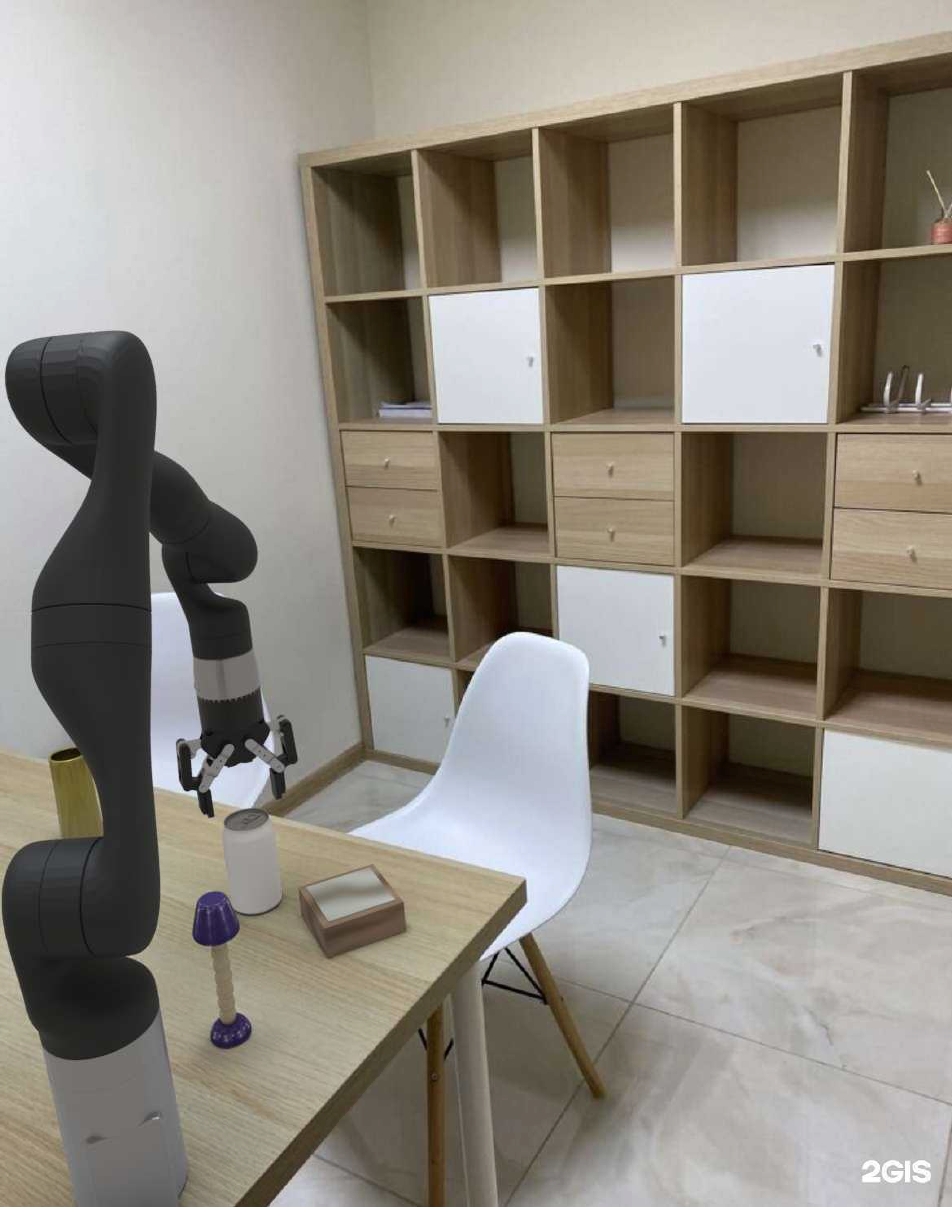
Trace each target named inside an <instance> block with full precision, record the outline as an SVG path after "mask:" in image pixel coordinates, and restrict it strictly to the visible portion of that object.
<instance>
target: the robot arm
mask: <svg viewBox="0 0 952 1207" xmlns="http://www.w3.org/2000/svg"><path fill="white" fill-rule="evenodd" d="M7 357H8V358H7V360H6V364H5V370H4V387H5V392H6V397H7V400H8V403H9V406H10V408H11V410H12V412H13V415H14V416H15V418H16V420H17V421H18V423H19V425H21V427H22V429H24V431H25V432H26V433H27V434H28V435H29V436H31V437H32V439H34V440H35V441H36V442H37V443H38V444H40V445H41V446H42V447H44V448H45V449H46V450H47V451H49V452H51V453H52V454H53V455H55V456H57V458H59V459H61V460H62V461H63V462H65V463H67V464H68V465H69V466H71V467H72V468H74V469H75V470H76V471H77V472H79V473H80V474H82V475H83V476H85V477H86V478H88V479H89V480H90V484H89V487H88V488H87V492H86V495H85V497H84V499H83V501H82V502H81V505H80V507H79V508H78V510H77V512H76V514H75V515H74V517H73V519H72V520H71V522H70V524H69V525H68V527H67V528H66V529H65V531H64V533H63V535H62V536H61V537H60V539H59V540H58V542H57V544H56V545H55V546H54V548H53V550H52V551H51V554H50V555H49V557H48V558H47V560H46V561H45V563H44V565H43V567H42V569H41V571H40V572H39V575H38V576H37V579H36V581H35V583H34V584H35V585H34V587H33V590H32V596H31V610H30V612H31V615H30V616H31V617H30V667H31V674H32V677H33V679H34V680H33V681H34V682H35V684H36V685H35V686H37V689H38V692H40V694H41V697H42V698H43V699H44V701H45V703H46V705H48V707H49V710H50V711H51V713H52V714H53V715H54V717H55V718H56V720H57V721H58V722H59V725H61V726H62V729H63V730H64V731H65V733H66V734H67V735H68V736H69V738H70V740H71V742H73V744H74V745H75V746H76V747H77V749H78V750H79V752H80V753H81V755H82V756H83V758H84V760H85V762H86V764H87V766H88V768H89V770H90V772H91V775H92V778H93V783H94V786H95V790H96V792H97V795H98V796H97V798H98V801H99V802H98V803H99V808H100V813H101V818H102V822H103V836H99V837H84V838H68V839H61V838H56V839H55V838H54V839H45V840H38V841H33V842H30V843H28V844H26V845H24V846H22V847H21V848H20V849H19V850H18V851H17V852H16V853H15V854H14V855H13V857H12V858H11V860H10V861H9V864H8V865H7V868H6V871H5V874H4V878H3V882H2V886H1V919H2V924H3V925H2V926H3V931H4V935H5V936H4V937H5V940H6V944H7V949H8V951H9V955H10V959H11V962H12V965H13V968H14V972H15V975H16V978H17V982H18V985H19V988H20V992H21V995H22V999H23V1003H24V1006H25V1007H24V1008H25V1010H26V1014H27V1017H28V1019H29V1021H30V1023H31V1025H32V1026H33V1027H34V1029H35V1030H36V1031H37V1032H38V1035H39V1036H38V1037H39V1039H40V1041H39V1042H40V1045H41V1048H42V1049H41V1050H42V1052H43V1053H42V1054H43V1058H44V1064H45V1068H46V1074H47V1077H48V1082H49V1086H50V1091H51V1097H52V1100H53V1101H52V1102H53V1105H54V1108H55V1109H54V1110H55V1114H56V1115H55V1116H56V1119H57V1125H58V1128H59V1133H60V1136H61V1142H62V1143H61V1144H62V1147H63V1152H64V1156H65V1159H66V1160H65V1161H66V1164H67V1168H68V1173H69V1179H70V1182H71V1186H72V1191H73V1196H74V1201H75V1205H76V1207H180V1203H179V1197H180V1194H181V1193H182V1191H183V1189H184V1187H185V1185H186V1182H187V1179H188V1174H189V1173H188V1172H189V1171H188V1170H189V1165H188V1160H187V1154H186V1147H185V1140H184V1137H183V1130H182V1125H181V1121H180V1115H179V1108H178V1102H177V1096H176V1092H175V1085H174V1080H173V1075H172V1069H171V1063H170V1057H169V1056H170V1055H169V1051H168V1044H167V1040H166V1034H165V1026H164V1021H163V1017H162V1016H163V1015H162V1010H161V1004H160V998H159V991H158V986H157V983H156V979H155V977H154V975H153V973H152V971H151V969H149V967H147V965H145V964H144V963H142V962H140V960H139V961H138V960H137V959H134V958H131V957H130V956H134V955H135V956H136V955H138V954H140V953H142V952H144V951H145V950H147V948H148V947H149V946H150V945H151V943H152V941H153V938H154V936H155V933H156V932H157V927H158V923H159V915H160V910H161V868H160V865H161V864H160V856H159V855H160V852H159V851H160V850H159V839H158V830H157V829H158V828H157V816H156V815H157V814H156V804H155V793H154V792H155V791H154V780H153V779H154V778H153V764H152V744H151V743H152V740H151V738H152V736H151V726H152V725H151V722H152V721H151V718H152V717H151V716H152V715H151V714H152V712H151V710H152V707H151V706H152V666H153V663H152V662H153V660H152V658H153V623H152V622H153V621H152V620H153V618H152V617H153V616H152V609H153V608H152V588H151V561H150V558H151V557H150V556H151V555H150V534H151V536H152V537H154V539H156V541H157V542H158V543H160V544H161V548H160V549H161V550H160V551H161V553H160V554H161V561H162V566H163V569H164V572H165V574H166V576H167V579H168V581H169V583H170V585H171V587H172V589H173V591H174V593H175V595H176V597H177V600H178V601H179V604H180V607H181V609H182V611H183V614H184V618H185V619H186V621H187V625H188V630H189V631H188V632H189V638H190V645H191V652H192V657H193V658H192V663H193V664H192V670H193V688H194V689H195V693H196V700H197V709H198V714H199V721H200V730H201V732H200V736H199V738H196V739H195V738H194V739H190V740H186V739H185V738H178V739H177V740H176V741H175V748H176V749H175V750H176V760H177V761H176V762H177V774H178V781H179V784H180V786H181V787H182V790H183V791H184V792H190V791H195V792H196V794H197V801H198V808H199V809H200V810H199V811H201V813H202V814H203V815H204V816H207V819H211V818H215V816H216V815H215V810H214V803H213V797H212V796H213V795H212V791H211V789H210V788H211V785H212V784H213V782H214V780H215V779H216V778H217V777H218V776H219V775H220V773H221V772H222V770H223V768H224V767H226V768H229V769H230V768H233V767H235V766H238V765H239V764H240V765H241V764H249V763H252V762H253V761H254V760H255V759H256V758H257V757H258V758H259V759H260V760H261V761H262V762H264V763H265V764H266V765H268V766H269V768H268V771H269V779H270V787H271V793H272V795H273V797H274V798H275V800H276V801H278V800H281V799H283V794H286V790H287V787H286V778H285V770H286V768H287V767H289V766H290V765H295V764H297V763H298V760H299V758H298V752H297V748H296V747H297V746H296V741H295V735H294V730H293V726H292V722H291V721H290V720H289V718H287V717H286V716H285V715H284V714H280V715H278V716H277V717H276V719H273V720H270V721H267V722H266V719H265V713H264V705H263V697H262V689H261V682H260V681H261V680H260V673H259V666H258V661H257V658H256V655H255V651H254V646H253V637H252V631H251V630H252V628H251V619H250V614H249V608H248V607H247V605H246V604H245V603H244V602H243V601H241V600H239V599H235V598H230V597H226V596H223V595H219V594H217V593H215V591H213V590H212V589H211V587H210V586H209V584H233V583H239V582H242V581H244V580H246V579H247V578H249V577H250V576H251V575H252V573H254V571H255V568H256V566H257V563H258V559H259V552H258V546H257V542H256V539H255V537H254V535H253V533H252V531H251V530H250V529H249V527H248V526H247V525H246V524H245V522H243V520H241V519H240V518H239V517H237V516H236V515H234V514H233V513H231V512H230V511H228V510H227V509H225V508H224V507H222V506H221V505H220V504H218V503H217V502H214V501H212V500H210V499H209V498H208V496H207V495H206V494H205V492H204V491H203V489H202V488H201V486H200V484H199V483H198V482H197V481H196V480H195V478H194V477H193V476H192V475H191V474H190V473H189V472H188V470H186V469H185V467H183V466H182V465H181V464H179V463H178V462H176V461H175V460H174V459H172V458H170V457H168V456H167V455H165V454H163V453H161V452H159V451H158V450H155V447H156V446H155V444H156V430H157V419H158V418H157V414H158V408H157V407H158V406H157V405H158V398H157V396H158V395H157V394H158V391H157V390H158V389H157V382H156V375H155V369H154V365H153V361H152V359H151V355H150V352H149V351H148V349H147V346H146V345H145V343H144V342H143V341H142V339H141V338H140V337H138V336H137V335H136V334H134V333H132V332H130V331H128V330H127V331H126V330H118V329H117V330H101V331H100V330H99V331H93V332H92V331H91V332H90V331H89V332H88V331H87V332H79V333H78V332H77V333H70V334H60V335H52V336H44V337H37V338H33V339H30V340H26V341H23V342H20V343H19V344H17V345H16V346H15V347H14V348H13V349H12V350H11V352H10V354H9V356H7ZM271 732H273V733H274V735H275V736H276V737H277V738H279V739H280V740H279V741H280V746H281V752H282V753H280V754H279V755H276V754H275V753H273V751H271V750H270V749H269V748H268V747H267V746H266V745H265V743H266V741H267V739H268V737H269V735H270V734H271ZM200 749H202V751H204V753H206V756H204V759H203V761H202V763H201V764H202V765H201V767H200V768H199V771H198V773H197V775H196V776H193V767H192V766H193V765H192V760H193V759H195V757H196V756H197V752H198V751H199V750H200Z"/></svg>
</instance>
